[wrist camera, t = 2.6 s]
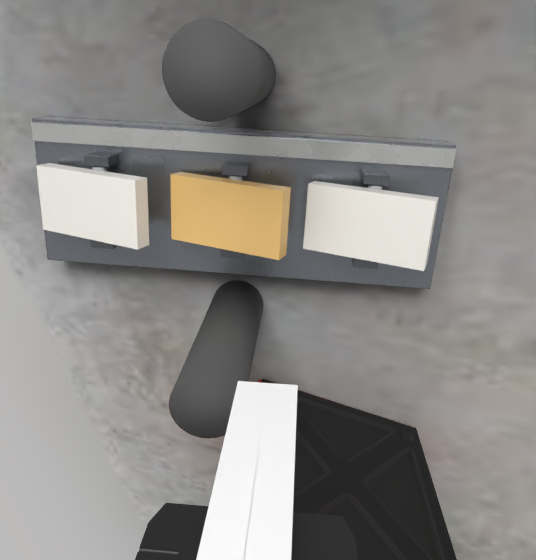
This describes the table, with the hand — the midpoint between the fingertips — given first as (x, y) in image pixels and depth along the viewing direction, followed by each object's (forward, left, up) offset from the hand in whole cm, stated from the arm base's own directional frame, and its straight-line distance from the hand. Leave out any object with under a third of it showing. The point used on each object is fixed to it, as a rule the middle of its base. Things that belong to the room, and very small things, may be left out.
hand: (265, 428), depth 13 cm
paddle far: (0, -13, -22) cm, 26 cm away
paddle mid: (0, -4, -22) cm, 23 cm away
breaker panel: (0, -4, -26) cm, 27 cm away
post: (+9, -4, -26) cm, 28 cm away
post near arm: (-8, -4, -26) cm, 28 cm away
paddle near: (0, +5, -22) cm, 23 cm away
